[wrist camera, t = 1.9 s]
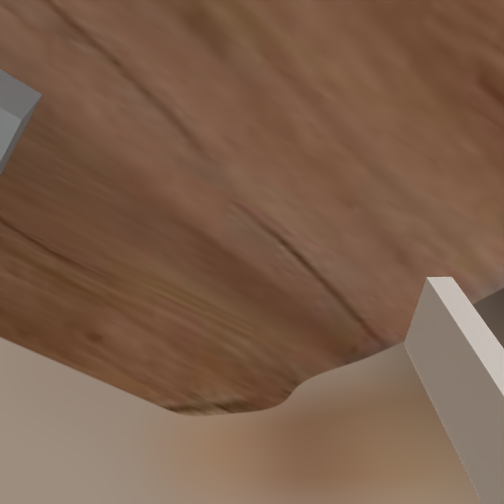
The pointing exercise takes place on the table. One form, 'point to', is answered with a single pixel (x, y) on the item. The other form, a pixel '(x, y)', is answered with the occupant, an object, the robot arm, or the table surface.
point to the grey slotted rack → (14, 113)
